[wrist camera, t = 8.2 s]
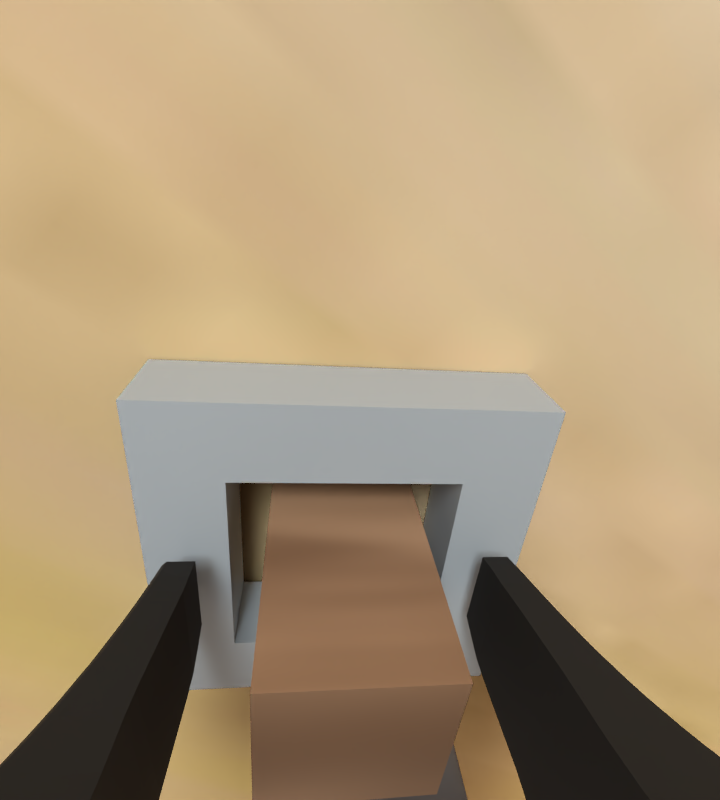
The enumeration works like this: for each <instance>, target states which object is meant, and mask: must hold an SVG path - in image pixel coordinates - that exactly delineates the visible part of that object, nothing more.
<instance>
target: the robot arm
mask: <svg viewBox="0 0 720 800" xmlns="http://www.w3.org/2000/svg"><path fill="white" fill-rule="evenodd" d="M467 620H468V625H469V629H470V633H471V638H472V642H473V646H474V650H475V654H476V658H477V662H478V664H479V667H480V670H481V673H482V676H483V679H484V682H485V684H486V687H487V690H488V693H489V696H490V698H491V701H492V704H493V707H494V709H495V712H496V715H497V718H498V720H499V723H500V726H501V728H502V731H503V734H504V737H505V739H506V742H507V745H508V748H509V750H510V753H511V756H512V759H513V761H514V764H515V767H516V770H517V773H518V776H519V779H520V782H521V785H522V788H523V791H524V794H525V798H526V800H720V757H719V756H718V755H717V754H715V753H714V752H713V751H711V750H710V749H709V748H708V747H706V746H705V745H704V744H702V743H701V742H700V741H699V740H697V739H696V738H695V737H694V736H692V735H691V734H690V733H689V732H687V731H686V730H685V729H684V728H682V727H681V726H680V725H679V724H678V723H677V722H675V721H674V720H673V719H672V718H671V717H669V716H668V715H667V714H666V713H665V712H664V711H662V710H661V709H660V708H659V707H658V706H656V705H655V704H654V703H653V702H652V701H651V700H649V699H648V698H647V697H646V696H645V695H644V694H643V693H641V692H640V691H639V690H638V689H637V688H636V687H635V686H634V685H632V684H631V683H630V682H629V681H628V680H627V679H626V678H625V677H624V676H623V675H622V674H621V673H620V672H618V671H617V670H616V669H615V668H614V667H613V666H612V665H611V664H610V663H609V662H608V661H607V660H606V659H605V658H604V657H603V656H602V655H600V654H599V653H598V652H597V651H596V650H595V649H594V648H593V647H592V646H591V645H590V644H589V643H588V642H587V641H586V640H585V639H584V638H583V637H582V636H581V635H580V634H579V633H578V632H577V631H576V629H575V628H574V627H573V626H572V625H571V624H570V623H569V622H568V621H567V620H566V619H565V618H564V617H563V616H562V615H561V614H560V613H559V612H558V611H557V610H556V609H555V608H554V607H553V606H552V604H551V603H550V602H549V601H548V600H547V599H546V598H545V597H544V596H543V595H542V594H541V593H540V592H539V590H538V589H537V588H536V587H535V586H534V585H533V584H532V583H531V582H530V581H529V580H528V578H527V577H526V576H525V575H524V574H523V573H522V572H521V571H520V570H519V569H518V568H517V566H516V565H515V564H514V563H513V562H512V561H511V560H510V559H509V558H508V557H483V558H482V562H481V566H480V569H479V573H478V576H477V580H476V584H475V587H474V591H473V594H472V598H471V602H470V605H469V609H468V612H467ZM201 626H202V621H201V611H200V601H199V592H198V582H197V572H196V563H195V561H180V562H165V563H164V564H163V565H162V566H161V567H160V569H159V570H158V572H157V573H156V575H155V576H154V578H153V579H152V581H151V582H150V584H149V585H148V587H147V588H146V590H145V591H144V593H143V594H142V596H141V597H140V598H139V600H138V601H137V603H136V604H135V605H134V607H133V608H132V609H131V611H130V612H129V614H128V615H127V616H126V618H125V619H124V620H123V622H122V623H121V624H120V626H119V627H118V628H117V630H116V631H115V632H114V634H113V635H112V636H111V637H110V639H109V640H108V641H107V643H106V644H105V645H104V647H103V648H102V649H101V650H100V652H99V653H98V654H97V656H96V657H95V658H94V659H93V661H92V662H91V663H90V664H89V665H88V667H87V668H86V669H85V670H84V671H83V673H82V674H81V675H80V676H79V677H78V679H77V680H76V681H75V682H74V683H73V685H72V686H71V687H70V688H69V689H68V691H67V692H66V693H65V694H64V695H63V696H62V698H61V699H60V700H59V701H58V702H57V704H56V705H55V706H54V707H53V708H52V709H51V710H50V712H49V713H48V714H47V715H46V716H45V717H44V718H43V719H42V721H41V722H40V723H39V724H38V725H37V726H36V727H35V728H34V729H33V730H32V732H31V733H30V734H29V735H28V736H27V737H26V738H25V739H24V740H23V741H22V742H21V743H20V745H19V746H18V747H17V748H16V749H15V750H14V751H13V752H12V753H11V754H10V755H9V756H8V757H7V758H6V759H5V760H4V761H3V763H2V764H1V765H0V800H159V797H160V793H161V790H162V786H163V783H164V779H165V775H166V772H167V768H168V765H169V761H170V757H171V754H172V750H173V747H174V743H175V739H176V736H177V732H178V728H179V725H180V721H181V718H182V714H183V710H184V707H185V703H186V699H187V696H188V692H189V688H190V685H191V681H192V677H193V673H194V668H195V662H196V656H197V651H198V645H199V639H200V633H201Z"/></svg>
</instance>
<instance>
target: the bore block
mask: <svg viewBox="0 0 720 800" xmlns="http://www.w3.org/2000/svg"><path fill="white" fill-rule="evenodd" d="M116 403H117V408H118V414H119V420H120V426H121V432H122V437H123V443H124V449H125V455H126V461H127V467H128V472H129V478H130V484H131V490H132V496H133V501H134V507H135V513H136V519H137V525H138V531H139V536H140V542H141V548H142V554H143V560H144V565H145V571H146V577H147V583H148V585H149V584H150V582H151V581H152V579H153V578H154V576H155V575H156V573H157V572H158V570H159V569H160V567H161V566H162V565H163V564H164V563H165V562H180V561H195V563H196V572H197V582H198V592H199V601H200V611H201V621H202V626H201V633H200V639H199V645H198V651H197V656H196V662H195V668H194V673H193V677H192V681H191V685H190V688H189V690H197V689H218V688H238V687H251V679H252V670H253V661H254V651H255V642H256V633H257V624H258V614H259V605H260V596H261V586H262V581H258V582H244V576H243V551H242V526H241V501H240V483H352V484H431V488H430V494H429V499H428V504H427V509H426V515H425V520H424V525H423V527H424V530H425V533H426V536H427V540H428V543H429V546H430V549H431V552H432V555H433V559H434V562H435V565H436V568H437V571H438V574H439V577H440V581H441V584H442V587H443V590H444V593H445V596H446V600H447V603H448V606H449V609H450V612H451V615H452V618H453V622H454V625H455V628H456V631H457V634H458V637H459V641H460V644H461V647H462V650H463V653H464V656H465V660H466V663H467V666H468V669H469V672H470V675H471V676H480V674H481V670H480V667H479V664H478V662H477V658H476V654H475V650H474V646H473V642H472V638H471V633H470V629H469V625H468V620H467V612H468V609H469V605H470V602H471V598H472V594H473V591H474V587H475V584H476V580H477V576H478V573H479V569H480V566H481V562H482V558H483V557H508V558H509V559H510V560H511V561H512V562H513V563H514V564H515V565H516V564H517V561H518V558H519V555H520V551H521V548H522V545H523V542H524V539H525V536H526V533H527V530H528V527H529V524H530V521H531V518H532V515H533V512H534V509H535V505H536V502H537V499H538V496H539V493H540V490H541V487H542V484H543V481H544V478H545V475H546V472H547V469H548V466H549V462H550V459H551V456H552V453H553V450H554V447H555V444H556V441H557V438H558V435H559V432H560V429H561V426H562V423H563V419H564V416H565V413H566V412H565V411H564V410H563V409H562V408H561V407H560V406H559V405H558V404H557V403H556V402H555V401H554V400H553V399H551V398H550V397H549V396H548V395H547V394H546V393H545V392H544V391H543V390H542V389H541V388H540V387H539V386H538V385H537V384H536V383H535V382H534V381H533V380H532V379H531V378H530V377H529V376H528V375H527V374H516V373H490V372H465V371H439V370H413V369H387V368H362V367H336V366H310V365H285V364H259V363H233V362H208V361H182V360H156V359H148V360H147V362H146V363H145V364H144V365H143V367H142V368H141V369H140V370H139V372H138V373H137V374H136V375H135V377H134V378H133V379H132V380H131V382H130V383H129V384H128V386H127V387H126V388H125V389H124V391H123V392H122V393H121V394H120V396H119V397H118V398H117V399H116Z"/></svg>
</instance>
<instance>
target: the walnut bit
mask: <svg viewBox="0 0 720 800" xmlns="http://www.w3.org/2000/svg"><path fill="white" fill-rule="evenodd" d="M472 686H473V682H472V678H471V675H470V672H469V669H468V666H467V663H466V660H465V656H464V653H463V650H462V647H461V644H460V641H459V637H458V634H457V631H456V628H455V625H454V622H453V618H452V615H451V612H450V609H449V606H448V603H447V600H446V596H445V593H444V590H443V587H442V584H441V581H440V577H439V574H438V571H437V568H436V565H435V562H434V559H433V555H432V552H431V549H430V546H429V543H428V540H427V536H426V533H425V530H424V527H423V524H422V521H421V517H420V514H419V511H418V508H417V505H416V502H415V499H414V495H413V492H412V489H411V486H410V484H352V483H273V484H272V493H271V502H270V512H269V521H268V530H267V540H266V549H265V558H264V568H263V577H262V586H261V596H260V605H259V614H258V624H257V633H256V642H255V651H254V661H253V670H252V679H251V689H250V718H251V760H252V800H370V799H383V798H396V797H409V796H421V795H434V794H437V792H438V789H439V786H440V783H441V780H442V777H443V774H444V771H445V768H446V765H447V762H448V759H449V756H450V753H451V750H452V747H453V743H454V740H455V737H456V734H457V731H458V728H459V725H460V722H461V719H462V716H463V713H464V710H465V707H466V704H467V701H468V698H469V695H470V692H471V689H472Z"/></svg>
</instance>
